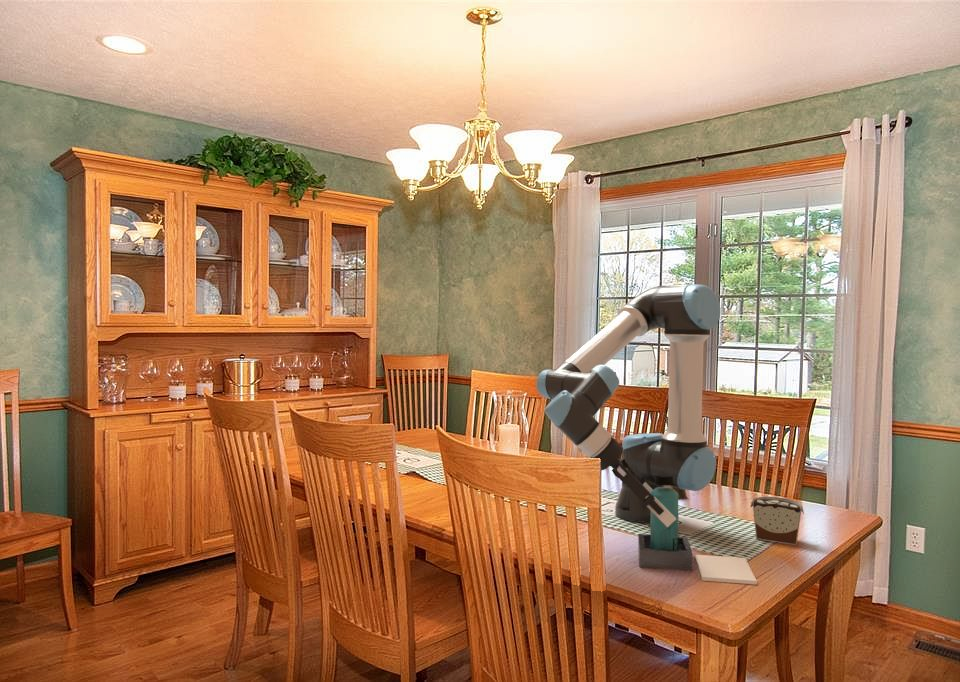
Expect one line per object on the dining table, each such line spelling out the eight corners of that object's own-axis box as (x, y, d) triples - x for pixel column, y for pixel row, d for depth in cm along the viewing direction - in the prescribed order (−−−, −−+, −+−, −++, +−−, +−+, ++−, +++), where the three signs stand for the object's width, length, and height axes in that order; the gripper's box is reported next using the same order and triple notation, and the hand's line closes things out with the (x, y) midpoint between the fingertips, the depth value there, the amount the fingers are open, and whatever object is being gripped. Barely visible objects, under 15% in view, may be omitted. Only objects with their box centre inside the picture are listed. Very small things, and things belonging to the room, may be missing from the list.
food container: (805, 539, 174) (806, 500, 173) (803, 546, 168) (803, 505, 168) (753, 531, 180) (754, 493, 180) (749, 538, 175) (750, 499, 174)
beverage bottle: (675, 567, 154) (676, 478, 153) (645, 562, 157) (646, 475, 157) (681, 558, 160) (682, 473, 159) (653, 553, 163) (654, 470, 162)
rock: (643, 483, 222) (653, 487, 212) (658, 462, 223) (669, 464, 213) (670, 504, 222) (681, 508, 212) (685, 482, 223) (697, 485, 213)
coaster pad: (695, 557, 160) (695, 554, 160) (745, 561, 158) (745, 557, 158) (702, 580, 146) (702, 576, 146) (756, 584, 144) (756, 580, 144)
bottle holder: (638, 550, 165) (638, 533, 165) (687, 553, 163) (687, 536, 163) (639, 567, 154) (639, 549, 154) (692, 571, 152) (692, 553, 152)
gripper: (585, 448, 171) (645, 509, 171) (593, 470, 146) (663, 542, 146) (606, 427, 171) (667, 489, 170) (618, 446, 146) (689, 518, 145)
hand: (666, 514), depth 158 cm, fingers open, 13 cm apart
